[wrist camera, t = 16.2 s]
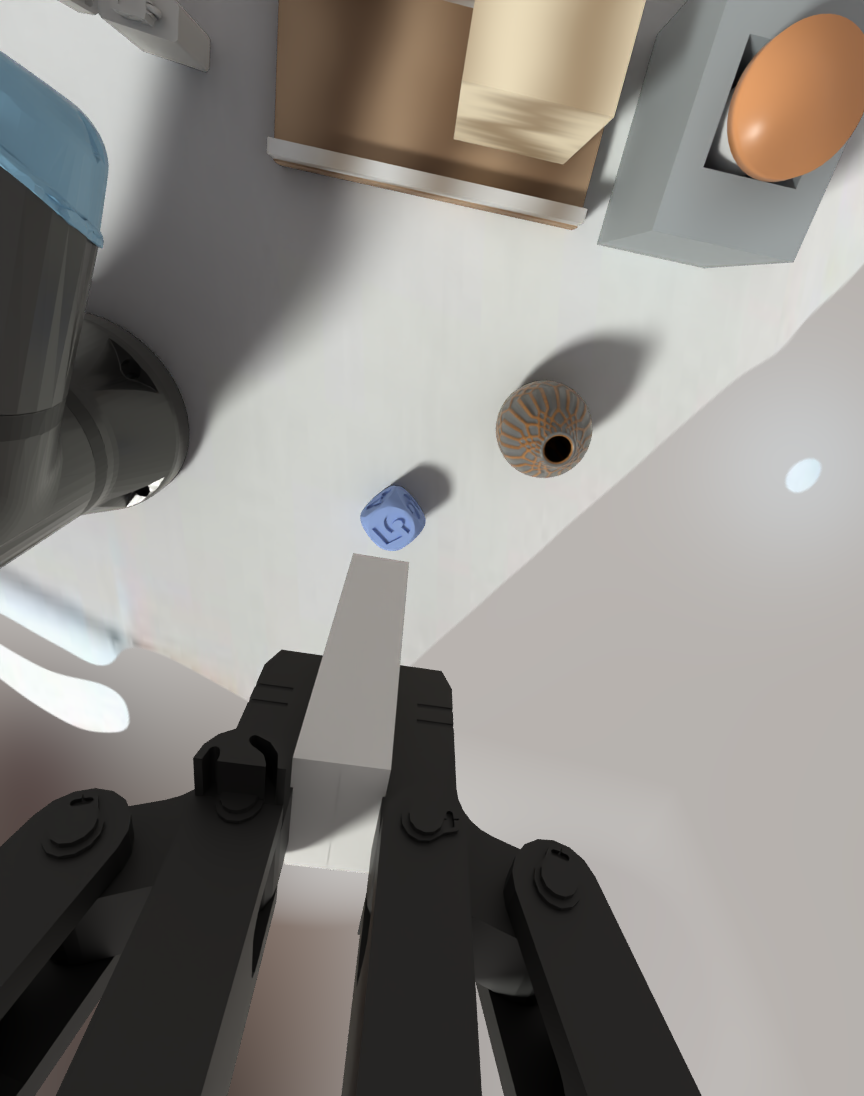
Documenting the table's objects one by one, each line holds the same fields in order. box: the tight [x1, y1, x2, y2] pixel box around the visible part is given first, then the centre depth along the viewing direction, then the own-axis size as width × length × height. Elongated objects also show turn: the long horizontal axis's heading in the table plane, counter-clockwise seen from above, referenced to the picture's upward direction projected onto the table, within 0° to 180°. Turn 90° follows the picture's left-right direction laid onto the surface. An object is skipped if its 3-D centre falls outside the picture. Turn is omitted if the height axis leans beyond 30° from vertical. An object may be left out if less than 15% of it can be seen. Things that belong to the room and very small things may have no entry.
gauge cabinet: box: [597, 0, 864, 268], centre depth 29 cm, size 8×12×10 cm
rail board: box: [267, 0, 604, 230], centre depth 31 cm, size 20×10×3 cm, turn 80°
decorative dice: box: [360, 486, 425, 551], centre depth 43 cm, size 4×4×4 cm
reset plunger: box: [704, 14, 864, 182], centre depth 26 cm, size 6×6×8 cm
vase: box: [496, 380, 592, 478], centre depth 37 cm, size 7×7×9 cm
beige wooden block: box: [454, 0, 646, 164], centre depth 26 cm, size 7×4×10 cm, turn 79°
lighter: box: [58, 0, 210, 72], centre depth 27 cm, size 7×2×8 cm, turn 75°
